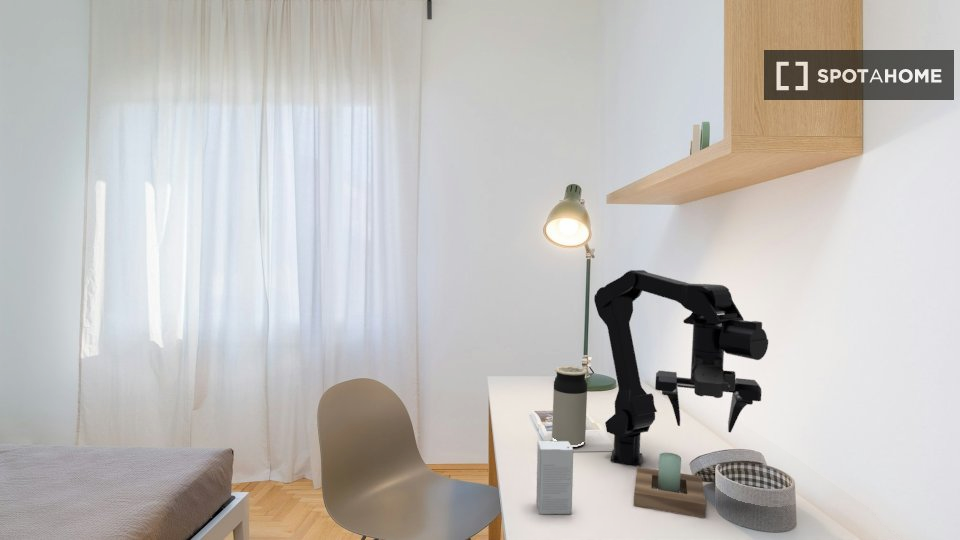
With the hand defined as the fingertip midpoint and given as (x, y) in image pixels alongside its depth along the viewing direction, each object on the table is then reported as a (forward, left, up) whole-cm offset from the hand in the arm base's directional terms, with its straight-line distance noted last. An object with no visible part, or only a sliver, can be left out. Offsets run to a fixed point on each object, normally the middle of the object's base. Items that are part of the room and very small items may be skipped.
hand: (703, 428), depth 107 cm
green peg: (+4, -6, -13) cm, 15 cm away
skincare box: (+17, -26, -13) cm, 34 cm away
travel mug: (-17, -29, -13) cm, 36 cm away
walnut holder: (+4, -6, -13) cm, 15 cm away
